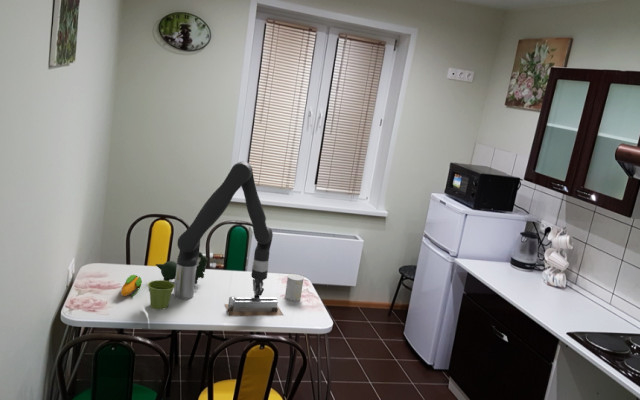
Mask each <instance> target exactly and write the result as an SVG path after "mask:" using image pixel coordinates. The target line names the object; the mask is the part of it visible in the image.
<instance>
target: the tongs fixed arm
mask: <svg viewBox="0 0 640 400" xmlns="http://www.w3.org/2000/svg"><path fill="white" fill-rule="evenodd" d="M236 298H237V297H235V296H229V297H228V311H233V312H278V307H279V306H278V307H277V305H278V302H279V301H278V300H277V301H235V300H236Z"/></svg>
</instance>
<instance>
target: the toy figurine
mask: <svg viewBox="0 0 640 400" xmlns="http://www.w3.org/2000/svg"><path fill="white" fill-rule="evenodd" d="M199 258H200V261H199V260H198V261H199V262H198V265H197V266H196V276H195V285H197V284H198V281H199V278H201V279H204V278H205V272H206V267H207V263H208V257H207V256H205V255H203V253H202V252H200V251H199V256H198V259H199ZM155 266H156V267H157V268H158V269H159V270H160V273H161V276H162V278H163V280H164V281H169V282H171V280H175V276H176V268H177V261H173V260H169V261H168V260H167V261H166V262H164V263H155Z"/></svg>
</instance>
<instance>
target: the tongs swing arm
mask: <svg viewBox="0 0 640 400" xmlns="http://www.w3.org/2000/svg"><path fill="white" fill-rule="evenodd" d="M235 298H236V300H235V301H278V298H277V297H259V298H254V297H235Z"/></svg>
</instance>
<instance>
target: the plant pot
mask: <svg viewBox="0 0 640 400" xmlns="http://www.w3.org/2000/svg"><path fill="white" fill-rule="evenodd" d="M147 286H148V291H149V299H150V300H149V301H150V307H151V308H152V309H154V310H165V309H167V308H168V307H169V304H170V300H171V295H172V293H173V292H174V287H175V285H174V282H172V281H164V279H163V280H161V279H160V280H159V279H158V280H151V281H149V282H148V283H147Z"/></svg>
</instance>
